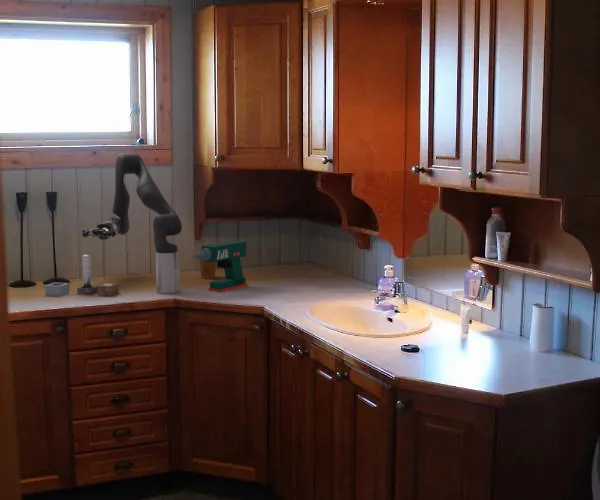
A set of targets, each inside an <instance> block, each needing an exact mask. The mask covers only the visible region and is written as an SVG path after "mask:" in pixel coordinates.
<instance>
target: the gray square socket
mask: <svg viewBox="0 0 600 500" xmlns="http://www.w3.org/2000/svg"><path fill="white" fill-rule="evenodd" d="M44 288H45V289H44V290H45V291H44V292H45V294H42V295H41V296H42V297H43V296H46V297H60V298H62V297H64V296H66V295H71V294H72V293H74V292H72V291H70V283H69V282H51V283H48V284H45V285H44Z"/></svg>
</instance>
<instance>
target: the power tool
mask: <svg viewBox="0 0 600 500" xmlns="http://www.w3.org/2000/svg"><path fill="white" fill-rule="evenodd" d="M243 257H247V241H246V240H230V241H229V240H228V241H223V242H217V243H211V244H210V243H209V244H205V245H204V244H203V245H201V246H200V250H199V251H198V253H195V254H193V255H192V256H191V258H195V259H199V258H200V259H201V260H202V261H206V262H217V263H216V268H219V269H223V270H224V274H225V278H222V279H219V280H212V281H210V282H209V287H208V288H207V291H208V290H209V291H208V292H213V291H215V293H223V292H222V291H224V292H227V291H226V290H228V291H232V290H236V289H235V288H237V289H240V288H239V287H241V288H244V287H243V286H245V287H248V283H247V279H246V278H247V277H244V273H243V267H242V262H241V258H243ZM231 289H232V290H231Z"/></svg>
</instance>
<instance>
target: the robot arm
mask: <svg viewBox="0 0 600 500" xmlns="http://www.w3.org/2000/svg"><path fill="white" fill-rule="evenodd" d="M114 167H115V168H114V169H115V171H114V172H115V174H114V175H115V176H114V179H115V180H114V182H115V184H114V185H115V187H114V190H115V191H114V197H113V199H114V200H113V206H112V213H113V215H115V216H110V217H108V219H107V221H104V222H101V223H99V224H97V225H96V226H95V228H87V229H83V230H81V232H82V233H81V236H82V237H83V238H88V237H90V238H98V239H100V240H101V241H105V240H108V239H110V238H113V237H114V238H115V237H116V236H118V235H122V236H125V235H126V234H128V232H129V230H130V221H129V208H130V203H131V202H130V201H131V197H130V193H129V191H128V189H127V187H126V184H125V175H135V176H136V177H137V178H138V180H137V184H136V195H137V196H138V198H139V200H140V201H141V203H142V205H144V206H145V207H146V208H148V209H150V210H151V211H153V212H155V213H157V215H155V216H154V218H153V222H152V223H153V224H152V228H153V241H154V242H153V243H154V249H155V274H156V275H155V278H156V279H155V280H156V283H155V284H156V293H159V294H176V293H178V292H180V291H181V270H180V268H179V265H178V264H179V262H178V261H179V259H178V257H179V256H178V255H179V254H178V252H179V250H178V245H177V244H175V243H171V242H169V241H168V239H167V237H170V236H177V235H179V234H180V233H181V232H182V231H183V230H182V227H183V226H182V221H181V218H180V217H179V215H178V214H177V213H176V211H175V210H174V209H173V208H172V206H171V205H170V204H169V203H168V201H167V200H166V198H165V197H164V196H163V194H162V192H161V190H160V188H159V187H158V185H157V184H156V183H155V181H154V180H153V178H152V176H151V174H150V173H149V171H148V168H147V166H146V165H145V162H144V160H143V158H142V157H141V155H140V154H138V153H134V152H133V153H129V152H128V153H119V154H118V155H117V156H116V160H115V166H114Z"/></svg>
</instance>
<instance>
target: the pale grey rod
mask: <svg viewBox="0 0 600 500" xmlns="http://www.w3.org/2000/svg"><path fill="white" fill-rule="evenodd" d="M81 258H82V263H81V264H82V281H83V282H82V284H83V285H82V286H83V288H91V286H92V274H91V273H92V272H91V270H92V268H91V267H92V266H91V254H82V257H81Z"/></svg>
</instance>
